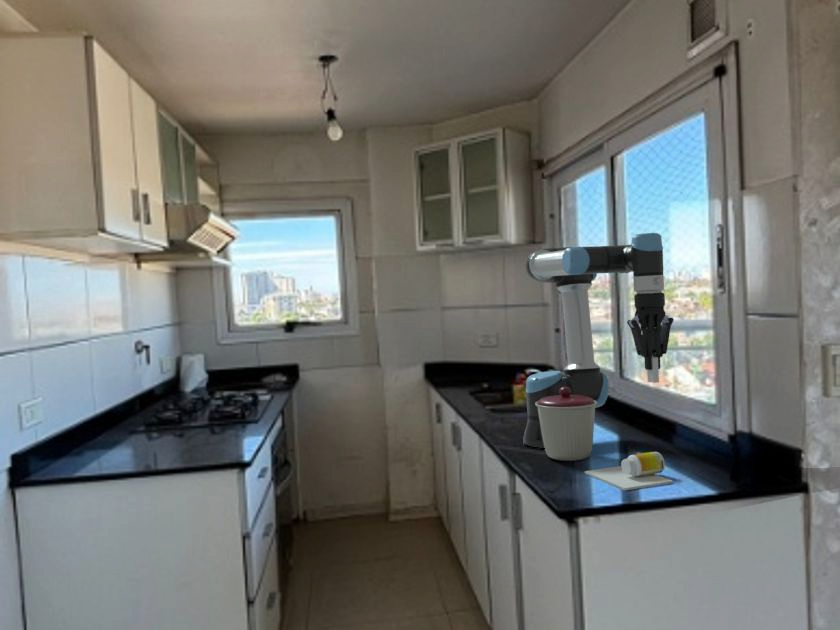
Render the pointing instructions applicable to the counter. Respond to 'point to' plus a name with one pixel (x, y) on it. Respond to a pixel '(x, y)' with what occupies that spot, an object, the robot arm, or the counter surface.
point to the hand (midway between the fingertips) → (653, 381)
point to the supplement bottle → (643, 464)
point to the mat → (627, 478)
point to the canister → (567, 425)
